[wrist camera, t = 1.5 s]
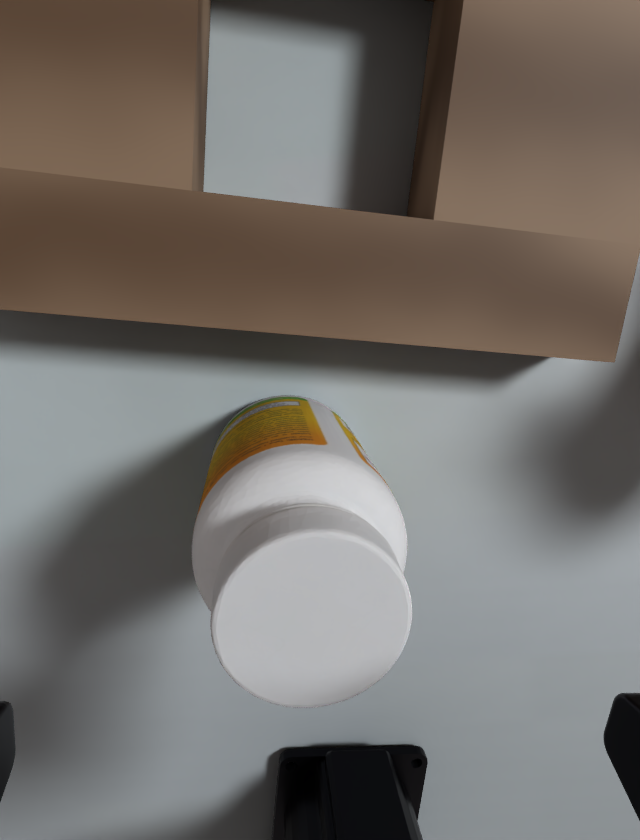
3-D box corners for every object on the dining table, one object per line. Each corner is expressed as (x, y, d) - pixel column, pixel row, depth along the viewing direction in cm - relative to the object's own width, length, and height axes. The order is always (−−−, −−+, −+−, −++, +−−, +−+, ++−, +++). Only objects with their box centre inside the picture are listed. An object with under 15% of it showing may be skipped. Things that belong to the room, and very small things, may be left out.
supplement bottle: (189, 498, 19) (125, 696, 10) (249, 367, 18) (242, 449, 9) (318, 549, 20) (371, 770, 11) (381, 428, 20) (497, 557, 10)
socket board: (561, 351, 20) (614, 362, 17) (-11, 301, 17) (-66, 303, 14) (652, -94, 16) (736, -176, 13) (-39, -247, 14) (-119, -392, 11)
